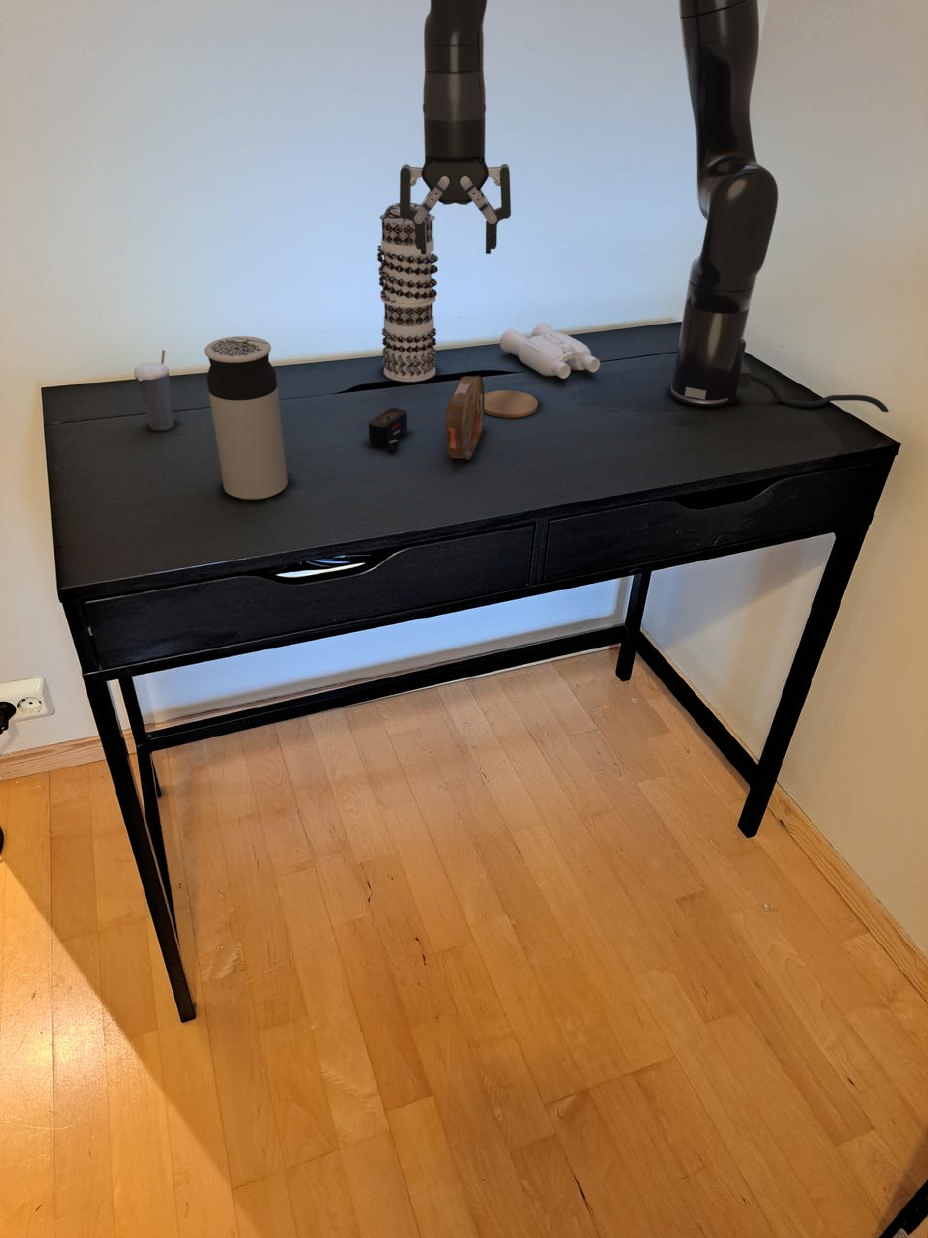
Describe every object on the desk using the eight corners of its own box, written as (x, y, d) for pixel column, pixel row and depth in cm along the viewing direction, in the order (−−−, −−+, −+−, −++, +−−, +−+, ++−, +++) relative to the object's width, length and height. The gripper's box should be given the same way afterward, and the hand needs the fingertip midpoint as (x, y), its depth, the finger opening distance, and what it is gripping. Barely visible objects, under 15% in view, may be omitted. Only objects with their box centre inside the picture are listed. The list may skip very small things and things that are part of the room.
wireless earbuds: (364, 447, 123) (363, 425, 121) (392, 428, 128) (391, 406, 127) (393, 455, 122) (392, 432, 120) (420, 435, 127) (419, 413, 125)
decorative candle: (369, 374, 144) (362, 207, 129) (402, 357, 151) (399, 196, 136) (416, 387, 141) (414, 216, 126) (448, 369, 147) (450, 204, 132)
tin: (465, 470, 118) (466, 410, 113) (442, 467, 119) (442, 407, 114) (486, 423, 130) (488, 367, 125) (464, 421, 131) (465, 365, 126)
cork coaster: (537, 394, 139) (537, 390, 139) (538, 418, 132) (539, 414, 132) (479, 392, 139) (479, 388, 139) (477, 416, 132) (477, 412, 132)
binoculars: (548, 345, 157) (550, 318, 154) (604, 376, 146) (608, 347, 143) (498, 354, 153) (499, 327, 150) (551, 387, 142) (554, 358, 139)
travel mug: (258, 508, 109) (238, 364, 99) (210, 490, 113) (186, 349, 102) (301, 482, 115) (287, 343, 104) (254, 466, 118) (236, 330, 108)
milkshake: (189, 421, 129) (177, 353, 123) (164, 435, 125) (150, 365, 119) (163, 415, 131) (150, 347, 125) (138, 429, 127) (123, 359, 121)
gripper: (512, 108, 112) (509, 245, 122) (398, 108, 112) (404, 245, 122) (514, 117, 106) (510, 260, 116) (393, 117, 106) (400, 260, 116)
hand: (456, 252), depth 119 cm, fingers open, 8 cm apart
